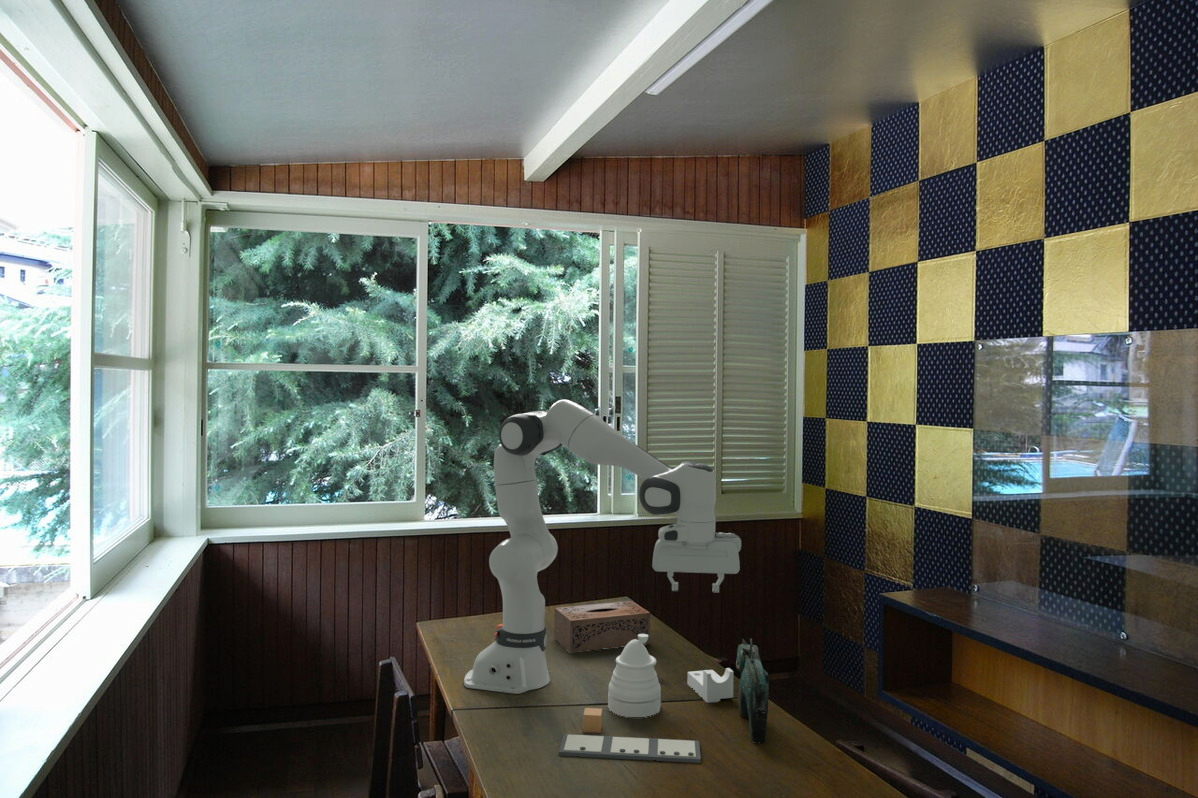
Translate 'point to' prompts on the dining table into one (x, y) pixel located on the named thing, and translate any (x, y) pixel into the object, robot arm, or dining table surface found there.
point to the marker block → (592, 720)
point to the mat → (630, 748)
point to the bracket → (711, 684)
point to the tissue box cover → (600, 625)
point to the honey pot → (635, 682)
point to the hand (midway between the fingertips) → (695, 591)
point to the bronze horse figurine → (753, 690)
